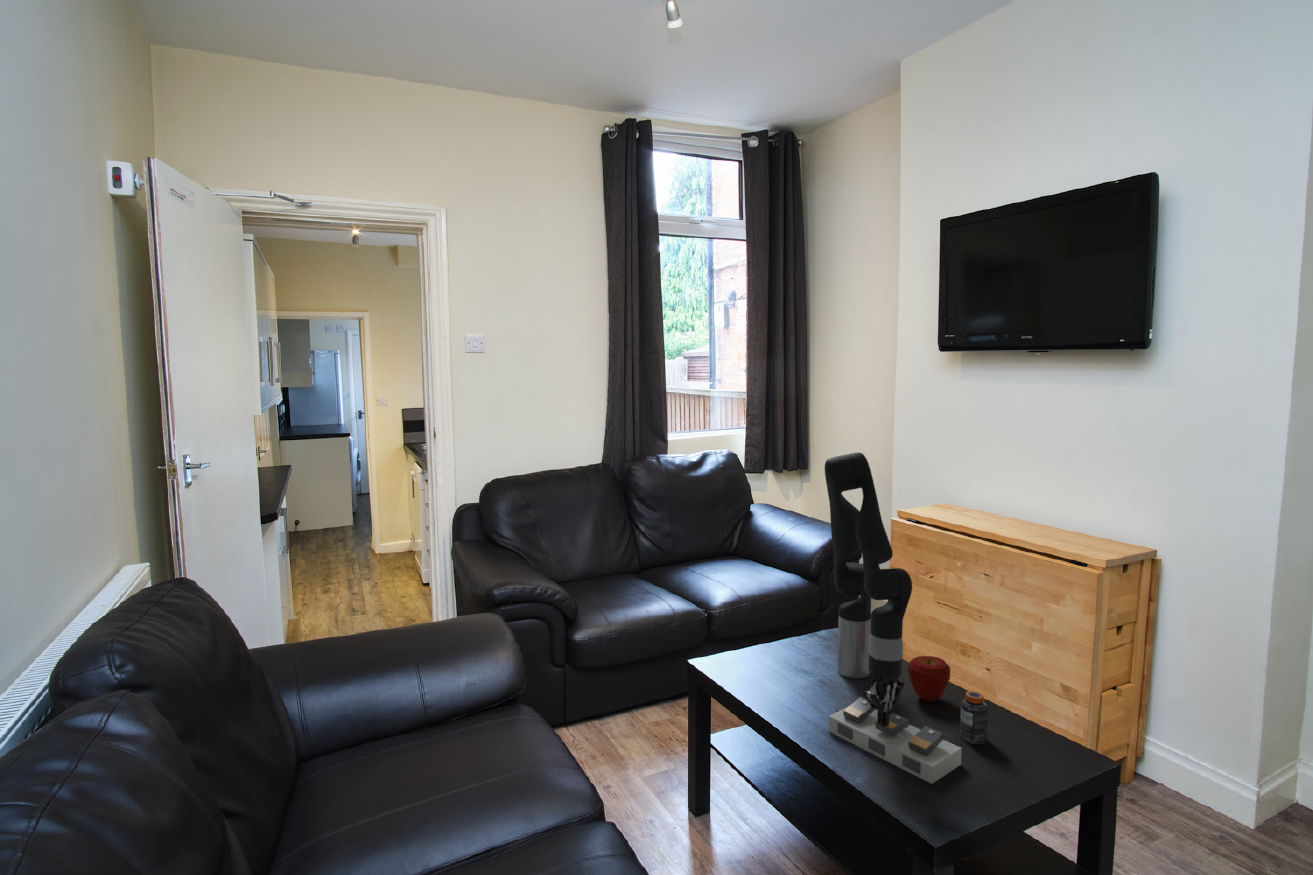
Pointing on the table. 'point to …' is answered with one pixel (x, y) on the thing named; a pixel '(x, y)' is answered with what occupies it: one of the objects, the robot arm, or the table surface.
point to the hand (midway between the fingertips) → (883, 724)
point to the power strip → (897, 746)
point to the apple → (929, 676)
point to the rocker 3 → (926, 740)
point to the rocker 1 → (858, 710)
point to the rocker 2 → (894, 724)
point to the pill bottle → (974, 718)
